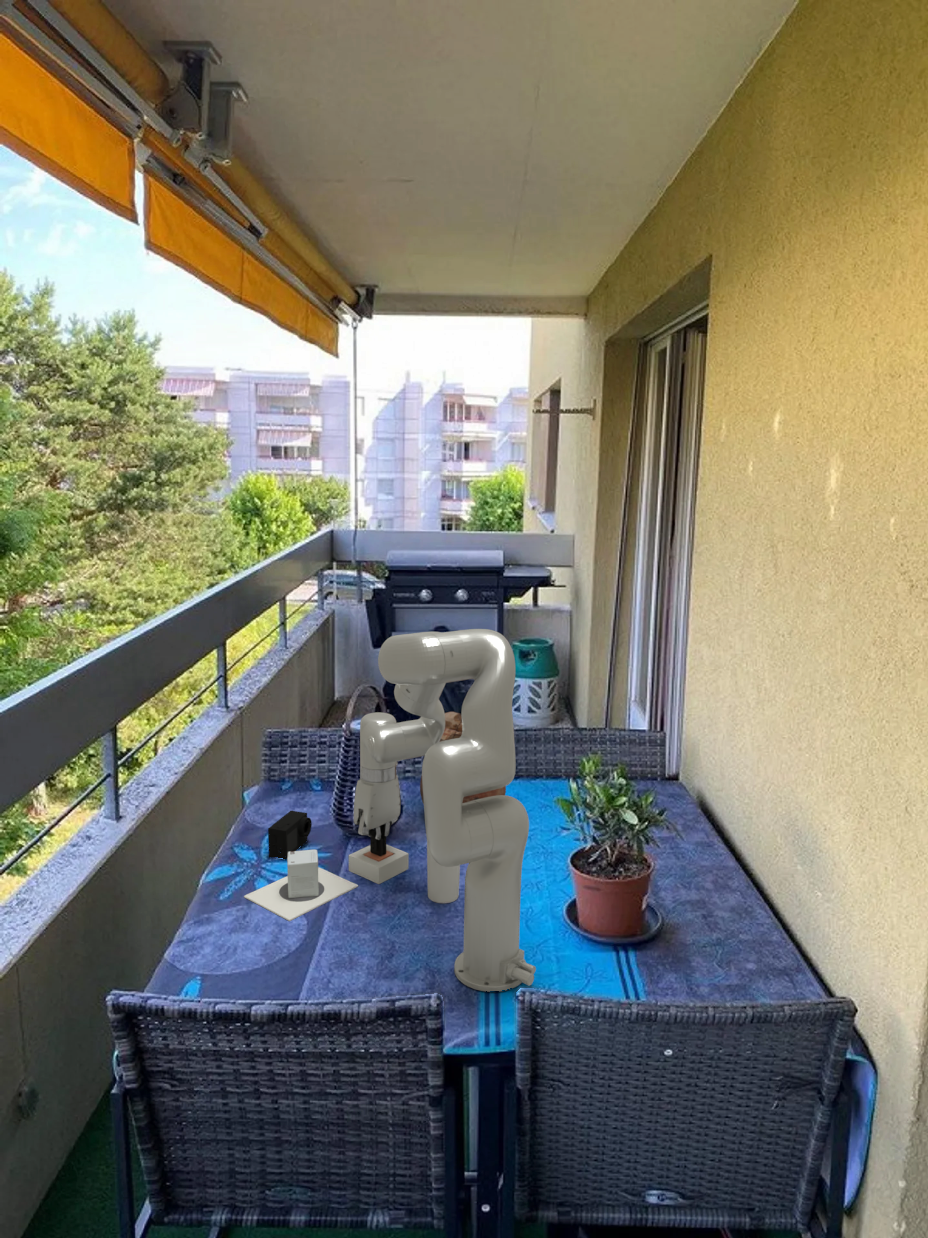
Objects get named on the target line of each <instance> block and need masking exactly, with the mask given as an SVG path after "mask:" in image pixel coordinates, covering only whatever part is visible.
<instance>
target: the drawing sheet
mask: <svg viewBox="0 0 928 1238" xmlns="http://www.w3.org/2000/svg"><path fill="white" fill-rule="evenodd" d="M318 885H319V895H318V896H311V897H298V898H289V897H288V875H287V876H284V877H282V878H280V879H278V880H275V881H274V882H272V883H269V884H267V885H264V886H263V887H260V888H258V889H256V890H254V891H251V892H249V893H247V894H245V895H243V898H245V899H247V900H248V901H250V902H252V903H254V904H256V905H258V906H259V907H262V908H264V909H265V910H267V911H269V912H271V913H273V914H275V915H277V916H279V917H280V918H282V919H284V920H287V921H288V922H291V921H294V920H295V919H297V918H299V917H301V916H303V915H305V914H307V913H308V912H311V911H313V910H315V909H317V908H319V907H320V906H323V905H324V904H327V903H329V902H330V901H333V900H335V899H336V898H339V897H341V896H342V895H345V894H347V893H349V892H350V891H352V890H354V889H356V888H358V887H359V885H358V884H357V883H355V882H352V881H349V880H348V879H346V878H344V877H341V876H339V875H337V874H335V873H332V872H330V871H328V870H326V869H324V868H321V867H319V866H318Z"/></svg>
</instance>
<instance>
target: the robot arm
mask: <svg viewBox="0 0 928 1238" xmlns="http://www.w3.org/2000/svg"><path fill="white" fill-rule="evenodd" d="M510 644H511V643H510V642H509V641H508V639H507V638H506V637H505V636H504V635H503V634H502V633H500V632H498V631H496V630H494V629H493V630H492V629H488V628H471V629H469V628H468V629H459V630H452V631H446V632H445V631H444V632H440V631H421V632H414V633H404V634H397V635H395V634H394V635H391V636H390V637H388V638H387V639H386V640H385V641H384V642H383V643H382V644H381V646H380V649H379V650H378V651H379V652H378V655H377V658H378V659H377V662H378V663H377V664H378V669H379V670H378V671H379V672H380V674H381V676H382V678H383V679H384V680H385V681H387V682H388V683H390V684H395V686H394V690H393V694H394V699H395V701H396V702H397V704H398V706H400V707H401V708H402V709H403V710H404V711H406V712H408V713H410V714H412V715H415V716H418V717H419V718H418V719H413V720H406V721H405V720H404V721H401V722H397V720H396V718H395V717H394V715H392V714H390V713H387V712H382V711H381V712H378V711H377V712H371V713H367V714H365V715H364V716H362V717H361V719H360V722H359V724H360V725H359V734H360V735H359V738H360V739H359V740H360V741H359V747H360V748H359V753H360V754H359V755H360V756H359V757H360V761H359V762H360V763H359V764H360V766H359V769H360V770H359V771H360V772H359V774H360V775H359V777H360V778H359V780H358V779H357V783H356V787H355V792H354V800H353V823H354V824H355V825H356V826H357V825H358V829H357V830H358V831H357V834H359V835H361V836H368V837H370V840H369V841H370V844H369V845H370V851H371V853H373V854H375V855H378V856H380V857H381V856H383V855H385V854H386V844H387V837H388V836H389V834H390V829H391V826H392V825H393V824H394V823H396V822H397V821H398V819H399V816H400V814H401V792H400V791H401V790H400V788H401V787H400V781H399V776H398V775H397V767H398V763H399V762H400V761H405V760H409V759H414V758H420V757H423V761H422V765H421V766H422V767H421V775H422V784H423V798H424V804H423V808H424V809H423V810H424V823H425V824H424V825H425V827H424V828H425V836H426V844H427V843H428V847H429V850H430V853H431V855H432V857H433V858H434V860H435V861H436V862H437V863H438V864H440V865H442V866H445V867H453V866H458V865H460V866H463V865H467V864H468V865H467V868H466V870H465V875H464V876H465V877H464V899H463V900H464V902H463V903H464V905H463V906H464V907H463V908H464V909H463V910H464V911H463V915H464V916H463V951H462V952H461V953H459V955H458V956H457V957H456V958H455V961H454V967H453V968H454V974H455V977H456V978H457V979H458V980H459V981H460V982H461V983H462V984H463V985H465V986H466V987H468V988H471V989H473V990H476V991H481V992H486V991H487V993H488V992H489V993H491V992H490V991H499V992H503V991H502V990H505V991H508V990H507V989H509V990H511V989H510V988H512V989H514V988H516V987H518V986H520V985H521V984H522V983H523V984H525V985H526V986H532V984H533V982H534V980H535V975H534V974H535V972H536V970H537V968H536V966H535V965H532V964H531V963H527V962H526V959H525V950H523V949H521V948H520V928H521V927H520V926H521V925H520V922H521V921H520V920H521V917H520V916H521V892H522V890H521V889H522V871H523V870H522V869H523V860H524V854H525V850H526V846H527V841H528V837H529V830H530V820H529V814H528V812H527V810H526V807H525V806H524V804H523V803H522V802H521V801H520V800H518V799H517V798H515V797H513V796H509V795H506V794H505V795H496V796H490V797H485V798H481V799H477V800H472V801H469V802H465V803H462V802H463V798H464V797H466V796H470V795H474V794H479V793H483V792H487V791H491V790H495V789H499V788H502V787H505V786H506V787H507V786H509V785H510V784H511V783H512V781H513V780H514V778H515V775H516V764H517V763H516V746H515V732H514V731H515V729H514V717H513V696H514V689H515V681H516V660H515V659H516V658H515V654H514V651H513V649H512V647H511V645H510ZM466 680H474V682H473V683H472V685H470V687H469V689H468V691H467V693H466V695H465V697H464V699H463V702H462V705H461V711H460V712H461V716H462V735H461V737H460V738H455V739H450V740H445V741H441V742H439V741H440V739H441V737H442V735H443V733H444V730H445V713H446V712H445V710H444V706H443V704H442V702H441V701H440V697H441V695H442V693H443V690H444V688H445V686H446V684H447V683H455V682H460V681H466Z"/></svg>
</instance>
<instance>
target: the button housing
mask: <svg viewBox="0 0 928 1238" xmlns="http://www.w3.org/2000/svg"><path fill="white" fill-rule="evenodd" d="M386 850H387V851H389V852H391V853H393V855H392V856H390V857H388V858H386V859H384V860H381V861H379V862H378V861H376V860H373V859H371V858H369V857H366V856H364V854H365V853H367V852H370V844H369V845H367V846H365V847H363V848H361V849H359V850H357V851H355V852H352V853H350V854H348V871H349V872H351V873H353V874H355V875H358V876H360V877H362V878H364V879H366V880H369V881H371V882H373V883H375V884H378V885H380V884H382V883H385V882H386V881H388V880H390V879H392V878H393V877H395V876H398V875H399V874H401V873H404V872H406V871H407V870H409V860H410V859H409V853H408V852H406V851H404V850H401V849H399V848H396V847H394V846H391V845H389V844H387V843H386Z"/></svg>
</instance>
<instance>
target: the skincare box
mask: <svg viewBox="0 0 928 1238" xmlns="http://www.w3.org/2000/svg"><path fill="white" fill-rule="evenodd" d="M318 854H319V853H318V849H306V850H305V849H304V850H297V851H290V852H288V858H287V860H286V862H287V876H288V897H289V898H298V897H311V896H318V895H319V885H318V867H319V856H318Z"/></svg>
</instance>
